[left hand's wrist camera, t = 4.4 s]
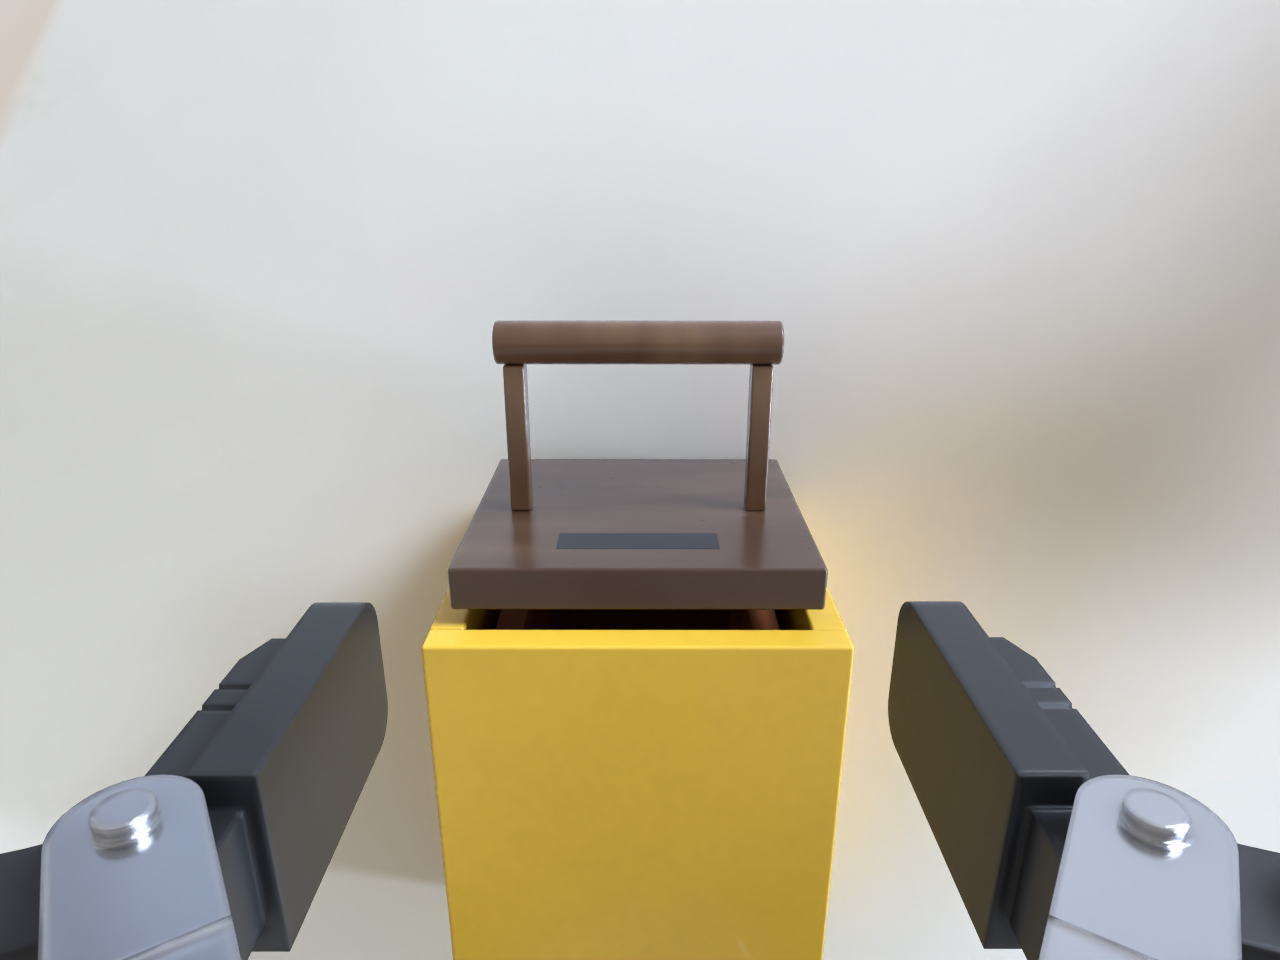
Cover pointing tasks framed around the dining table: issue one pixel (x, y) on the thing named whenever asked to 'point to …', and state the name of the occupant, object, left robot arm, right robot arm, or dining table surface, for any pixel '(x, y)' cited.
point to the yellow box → (637, 786)
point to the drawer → (638, 504)
